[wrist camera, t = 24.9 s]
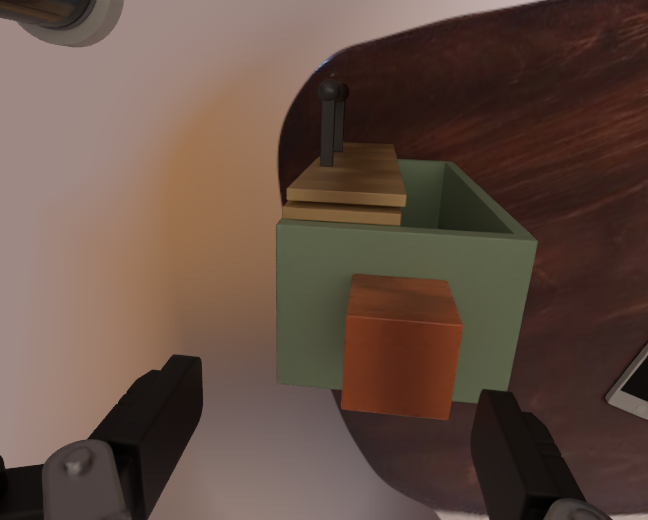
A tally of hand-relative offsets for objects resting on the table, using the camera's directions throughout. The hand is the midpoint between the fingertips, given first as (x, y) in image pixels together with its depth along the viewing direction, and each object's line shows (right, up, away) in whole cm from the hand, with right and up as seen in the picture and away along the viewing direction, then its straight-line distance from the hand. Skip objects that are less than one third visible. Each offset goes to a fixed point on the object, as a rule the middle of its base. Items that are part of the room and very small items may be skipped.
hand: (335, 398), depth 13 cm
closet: (+6, +10, +34) cm, 36 cm away
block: (+3, +1, +9) cm, 10 cm away
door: (+4, +17, +30) cm, 35 cm away
